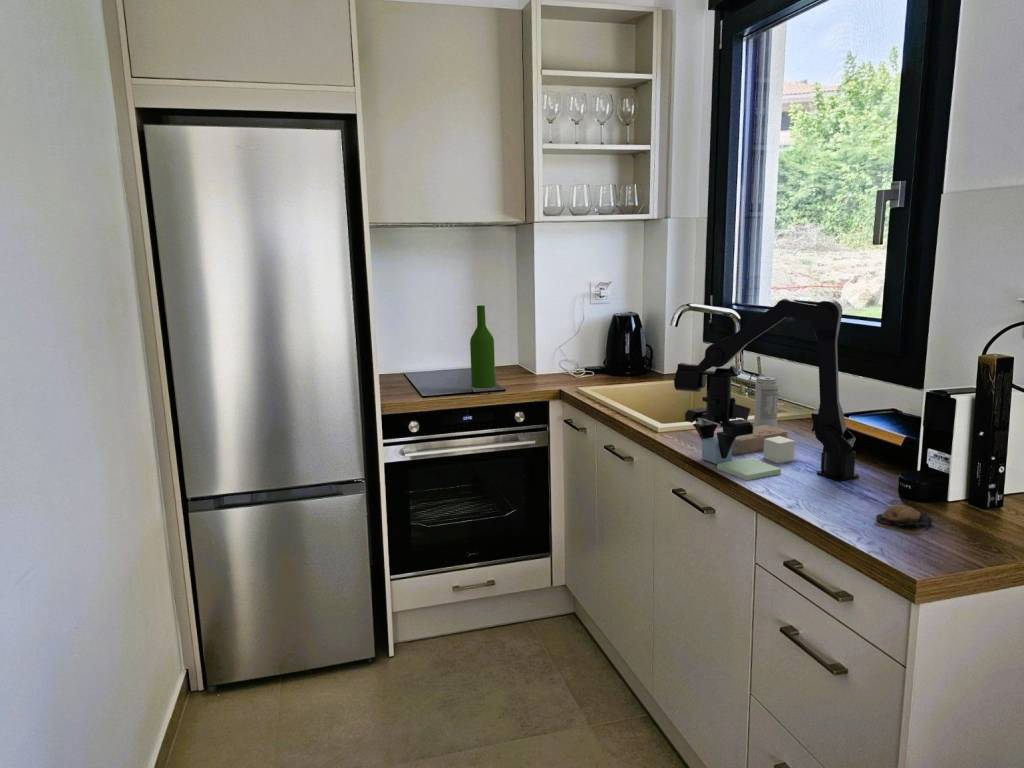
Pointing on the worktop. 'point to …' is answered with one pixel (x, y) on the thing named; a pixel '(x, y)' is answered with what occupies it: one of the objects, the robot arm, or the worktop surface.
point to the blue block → (714, 451)
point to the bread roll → (903, 519)
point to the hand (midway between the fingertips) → (716, 455)
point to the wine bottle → (482, 354)
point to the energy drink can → (766, 401)
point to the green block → (748, 468)
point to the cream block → (779, 449)
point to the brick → (756, 439)
